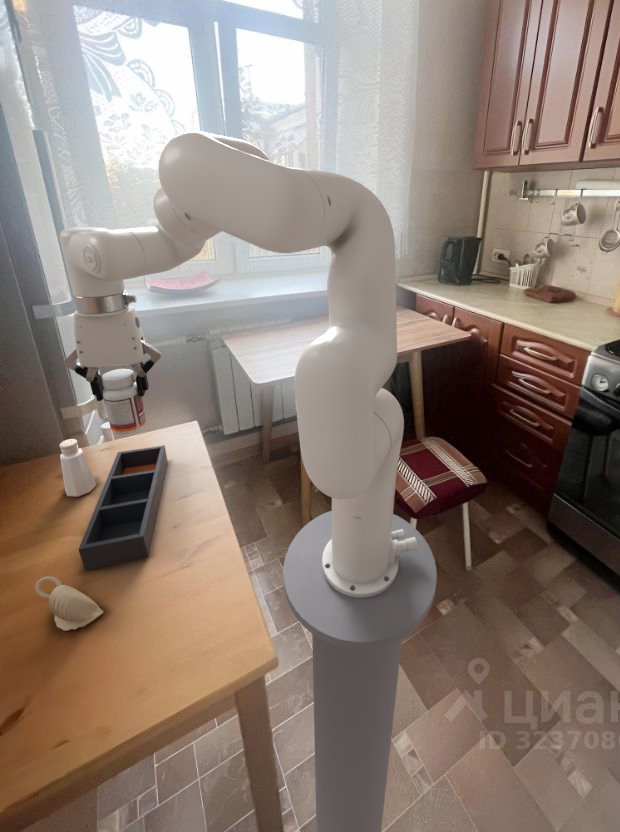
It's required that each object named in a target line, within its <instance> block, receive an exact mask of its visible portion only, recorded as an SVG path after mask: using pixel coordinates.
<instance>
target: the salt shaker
mask: <svg viewBox="0 0 620 832" xmlns="http://www.w3.org/2000/svg"><path fill="white" fill-rule="evenodd" d="M58 446H59V449H60V451H61V454H60V455H59V459H60V464H61V472H62V479H63V485H64V490H65V494H66V496H67V497H76V498H78V497H81V496H84V495H85V494H89V493H90V492H91V491H92V490H93V489H95V488H96V486H97V482H96V479H95V477H94V475H93V473H92V470H91V468H90V466H89V464H88V461H87V458H86V456H85V454H84V452H83V450H82V448H79V445H78V440H77V439H76V438H69V439H66V440H63V441H61V442H60V444H59V445H58Z"/></svg>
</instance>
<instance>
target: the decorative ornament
mask: <svg viewBox="0 0 620 832" xmlns="http://www.w3.org/2000/svg"><path fill="white" fill-rule="evenodd" d="M47 581H49V582H52V583H54V584H55V585H56V587H55V588H54V589H53V590H52V591H51V593H46V592H44V591H43V590H42V589H41V585H42V583H43V582H47ZM35 592H36V594H37V595H38V596H39V597H41V598H43V599H48V606H49V610H50V611H51V612H52V614H53V616H54V618H53V620H54V622H55V624H56V627H57V628H58V629H61V630H62V631H65V632H69V631H71V630H74V631H76V630H77V629H79V628H83V627H86V626H87V625H89V624H91V623H92V622H93V621H95V620H97V619H98V618H99V617H100V616H101V615H102V614H104V611H103V610H102V609H101V607H99V605H98V604H97V603H96V602H95V601H94V600H93V599H92V598H90V597H89V596H88V595H86V594H85V593H83V592H81V591H80V590H78V589H76V588H74V587H72V586H70V585H67V584H63V583H62V581H60V579H58V578H57V577H55V576H49V575H48V576H44V577H41V578H40V579H38V581H37V582H36V583H35Z"/></svg>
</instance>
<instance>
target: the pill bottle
mask: <svg viewBox="0 0 620 832" xmlns="http://www.w3.org/2000/svg"><path fill="white" fill-rule="evenodd" d="M101 376H102V382H103V386H104V387H105V388H104V390H103V392H102V395H103V400H102V401H103V405H104V408H105V412H106V417H107V420H108V423H109V428H110V430H111V432H112V433H114V434H116V435H127V434H132V433H135V432H138V431H139V430H142V429H144V427H145V426H146V424H147V415H146V411H145V406H144V400H143V396H142V397H140V396H139V393H138V388H137V384H136V376H135V371H134V370H132V369H129V368H116V369H113V370H110V371H107V372H105V373H103V374H102V375H101Z"/></svg>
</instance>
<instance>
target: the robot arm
mask: <svg viewBox="0 0 620 832" xmlns="http://www.w3.org/2000/svg"><path fill="white" fill-rule="evenodd" d="M158 179H159V183H160V188H158V190H157V191H156V192H155V194H154V197H153V202H152V203H153V211H154V215H155V217H156V219H157V222H158V223H157V224H155V225H152V226H143V227H129V228H119V229H108V228H105V227H98V226H97V227H96V226H79V227H68V228H65V229H63V230H62V231H60V234H59V243H60V247H61V250H62V254H63V255H62V256H63V258H64V259H63V260H64V262H65V267H66V271H67V275H68V279H69V282H70V283H69V284H70V287H71V291H72V296H73V300H74V303H75V308H76V310H75V311H74V312H73V319H72V321H73V323H72V324H73V335H74V336H73V337H74V344H75V349H74V350H73V351H72V352H71V353H70V354H69V355H68V356H67V358H66V359H64V361H63V362H62V364H63V366H65V368H68V369H70V370H71V371H74V372H75V374H77V375H78V376H80V377H82V378H84V379H85V381H86V382H88V383H89V385H90V390H91V393H92V396H95V397H96V402H101V401H104V400H103V395H102V392H103V390H104V388H105V387H104V386H103V382H102V376H103V375H102V374H99V371H100V368H107V367H118V366H129V365H130V367H131V368H132V369H133V371H134V373H136V376H135V382H136V384H137V388H138V393H139V396H140V397H142V398H143V397H145V394H146V392H147V391H148V390H149V380H148V375H147V374H148V372H150V370H151V369H152V368H154V366H155V365H156V363H157V362H158V361H159V360H160V359H161V358H162V355H163V353H162V351H160V350H159V349H157V348H156V347H154V346H153V345H151V344H150V343H148V342H147V341H146V339H145V335H144V331H143V328H142V325H141V321H140V319H139V316H138V314H137V311H136V309H135V307H134V306H133V305H130V304H133V303H137V296H136V294H129V293H128V291H127V290H126V287H125V282H124V281H126V280H130V279H135V278H138V277H139V278H140V277H143V276H149V275H156V274H160V273H164V272H169V271H171V270H173V269H175V268H177V267H179V266H181V265H182V264H184V263H186V262H188V261H190V260H192V259H193V258H195V257H197V256H198V255H199V254H200V253H201V252H202V250H203V248H204V247H205V246H206V242H207V241H208V240H210V239H211V238H213V237H215V236H217V235H219V234H220V233H222V232H223V233H225V234H228V235H230V236H232V237H235V238H237V239H239V240H241V241H244V242H246V243H247V244H250V245H252V246H255V247H257V248H260V249H262V250H266V251H268V252H272V253H278V254H293V253H294V254H295V253H300V252H303V251H307V250H312V249H317V248H320V247H328V248H329V251H330V263H329V268H328V273H327V281H326V293H327V302H328V325H327V330H326V331H325V333H323V334H322V335H320V336H319V337H317V338H316V339H314V340H313V341H312V342H311V343H310V344H308V345H307V347H305V349H304V350H303V351H302V352H301V355H300V356H299V359H298V361H297V363H296V367H295V373H294V378H293V390H294V402H295V410H296V421H297V430H298V431H297V432H298V439H299V440H298V441H299V447H300V449H299V450H300V455H301V461H302V464H303V468H304V470H305V473H306V475H307V476H308V478H309V480H310V482H311V483H312V484H313V485H314V486H315V488H316V489H318V491H320V492H321V493H322V494H324V495H325V496H328V497H329V498H331V511H332V539H331V540H330V541H329V542H328V544H327V545H326V547H325V549H324V552H323V556H322V568H323V573H324V575H325V577H326V579H327V581H328V582H329V584H330V585H331V586H332V587H333V588H334V589H336V590H337V591H339V592H340V593H342V594H345V595H347V596H350V597H356V598H367V597H372V596H375V595H378V594H380V593H382V592H383V591H385V590H386V589H387V588H388V587H389V586H390V585H391V584H392V583H393V581H394V580H395V578H396V575H397V572H398V556H400V555H401V553H402V552H406V551H407V552H409V551H413V550H417V549H418V543H417V540H416V538H415V537H412V538H408V539H404V540H402V541H397V540H394V539H400V538H404V531H403V529H400V530H396V531H393V532H392V520H393V514H394V508H395V495H396V484H397V474H398V467H399V466H398V465H399V460H400V454H401V448H402V443H403V437H404V430H405V419H404V418H405V417H404V413H403V408H402V406H401V404H400V403H399V400H397V398H396V397H395V396H394V395H393V394H392V393H391V392H390V391H389V390H387V389H386V388H383V387H384V385H385V384H386V383H387V382H388V380H389V379H390V377H391V376H392V374H393V372H394V371H395V368H396V365H397V364H398V363H397V362H398V335H397V334H398V332H397V331H398V327H397V325H398V323H397V320H398V319H397V291H396V288H397V286H396V243H395V241H396V240H395V234H394V233H395V232H394V229H393V228H394V227H393V224H392V221H391V219H390V216H389V214H388V211H387V210H386V207H385V206H384V204H383V203H382V201H381V200H380V199H379V197H378V196H377V195H376V194H375V193H374V192H372V191H371V190H370V189H369V188H368V187H366V186H365V185H363V184H362V183H360V182H358V181H357V180H354V179H352V178H350V177H348V176H345V175H341V174H339V173H335V172H331V171H324V170H319V169H317V170H316V169H305V168H299V167H293V166H292V167H291V166H285V165H282V164H278V163H275V162H272V161H271V159H270V158H269V156H268V155H267V154H266V153H265V152H264V151H263V150H262V149H260V148H259V147H258V146H256V145H254V144H252V143H251V142H248V141H246V140H243V139H239V138H234V137H230V136H224V135H220V134H215V133H211V132H210V133H209V132H205V131H199V130H198V131H197V130H191V131H190V130H189V131H186V132H182V133H180V134H177V135H175V136H174V137H172V139H170V140H169V142H167V144H166V145H165V146H164V148H163V149H162V151H161V154H160V157H159V160H158ZM146 354H147V355H149V356H150V357H149V358H148V359H147V360H146V361H145V362H144V356H145V355H146Z"/></svg>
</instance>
